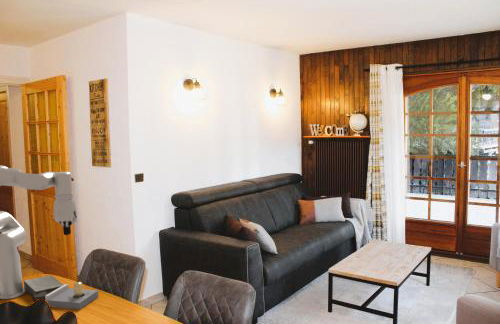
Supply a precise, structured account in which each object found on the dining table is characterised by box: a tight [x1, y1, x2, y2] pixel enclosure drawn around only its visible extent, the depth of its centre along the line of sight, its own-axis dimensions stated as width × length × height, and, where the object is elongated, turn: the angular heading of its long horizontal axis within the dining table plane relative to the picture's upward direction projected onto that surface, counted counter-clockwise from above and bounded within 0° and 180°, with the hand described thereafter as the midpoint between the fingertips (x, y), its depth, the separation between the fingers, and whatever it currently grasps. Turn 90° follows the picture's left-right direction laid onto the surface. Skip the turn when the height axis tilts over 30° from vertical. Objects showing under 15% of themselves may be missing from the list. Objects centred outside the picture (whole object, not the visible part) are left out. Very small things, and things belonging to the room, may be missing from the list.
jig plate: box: [44, 283, 100, 310], centre depth 200 cm, size 18×14×5 cm
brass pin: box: [73, 281, 84, 298], centre depth 199 cm, size 4×4×9 cm
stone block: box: [23, 274, 64, 301], centre depth 212 cm, size 14×20×5 cm
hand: (67, 234), depth 208 cm, fingers closed
